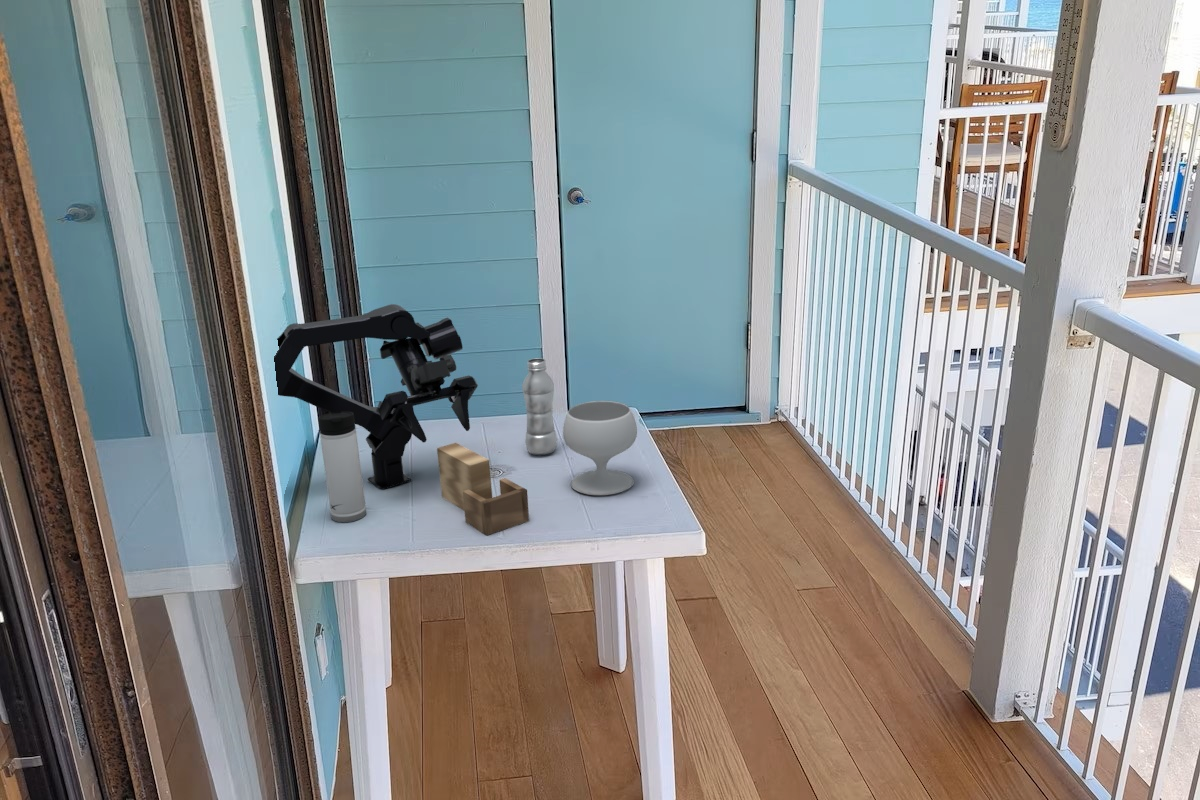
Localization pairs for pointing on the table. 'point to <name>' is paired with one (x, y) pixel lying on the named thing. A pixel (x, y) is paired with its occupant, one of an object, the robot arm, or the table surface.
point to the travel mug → (342, 466)
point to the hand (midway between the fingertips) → (447, 435)
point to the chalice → (600, 443)
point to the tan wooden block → (463, 473)
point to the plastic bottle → (539, 408)
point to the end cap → (497, 508)
